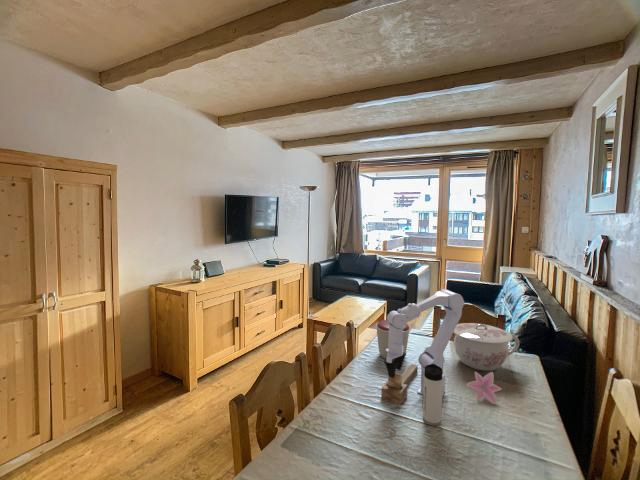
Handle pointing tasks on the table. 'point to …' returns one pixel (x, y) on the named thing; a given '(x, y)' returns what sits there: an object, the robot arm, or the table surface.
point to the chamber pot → (483, 345)
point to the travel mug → (432, 395)
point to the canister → (384, 337)
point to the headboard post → (400, 395)
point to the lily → (484, 386)
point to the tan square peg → (395, 381)
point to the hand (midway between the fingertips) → (394, 373)
